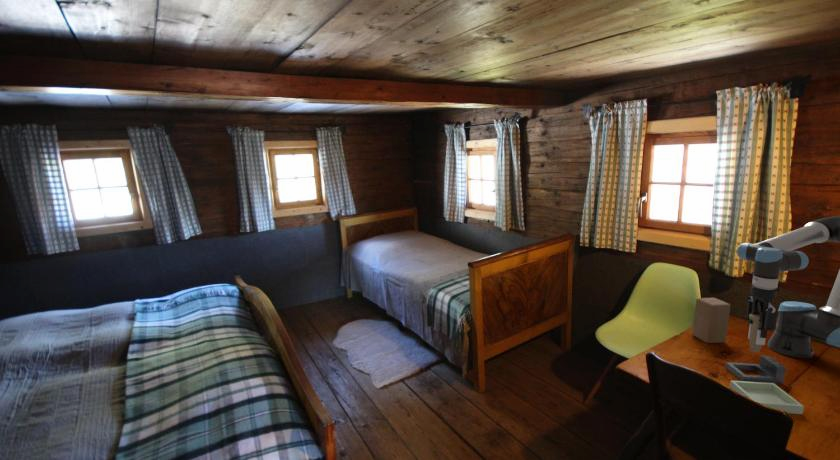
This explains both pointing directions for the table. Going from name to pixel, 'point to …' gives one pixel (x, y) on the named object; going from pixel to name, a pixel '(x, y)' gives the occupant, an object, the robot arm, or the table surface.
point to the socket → (759, 371)
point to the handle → (754, 333)
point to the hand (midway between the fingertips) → (756, 341)
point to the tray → (767, 395)
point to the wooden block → (711, 320)
